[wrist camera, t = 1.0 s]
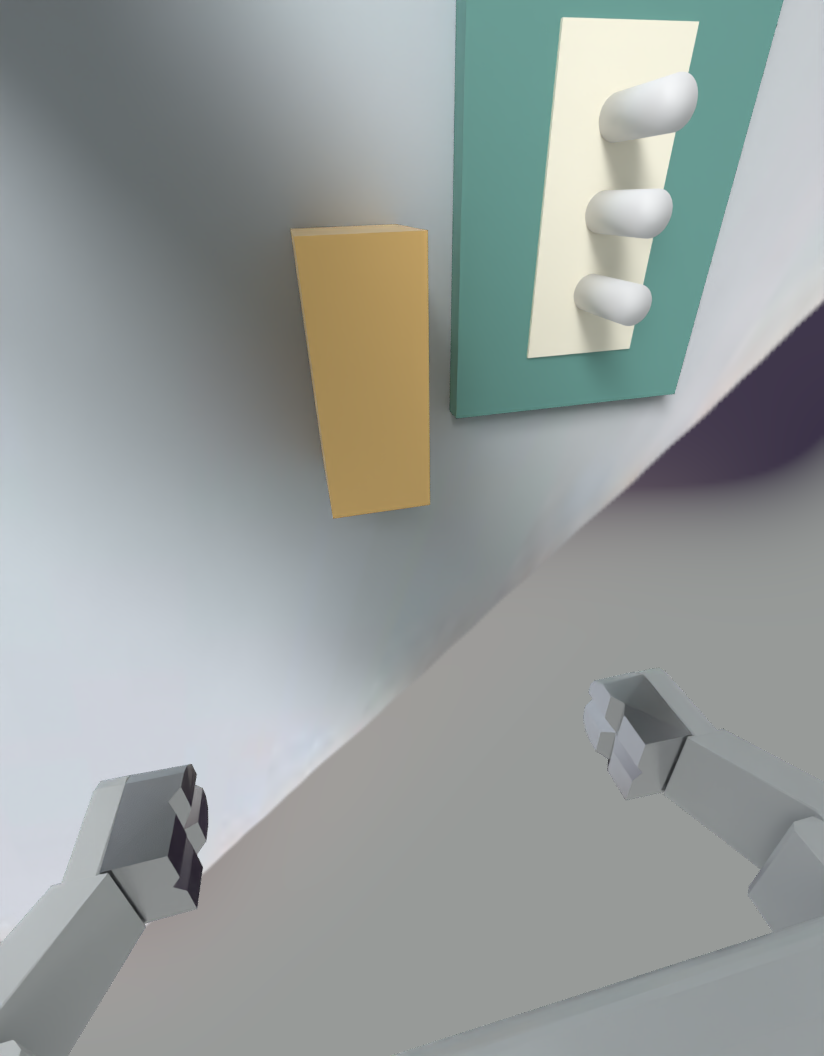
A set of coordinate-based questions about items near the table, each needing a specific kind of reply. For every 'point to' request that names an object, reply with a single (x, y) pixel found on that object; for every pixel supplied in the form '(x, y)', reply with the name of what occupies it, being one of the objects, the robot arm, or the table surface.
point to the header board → (591, 190)
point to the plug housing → (368, 361)
